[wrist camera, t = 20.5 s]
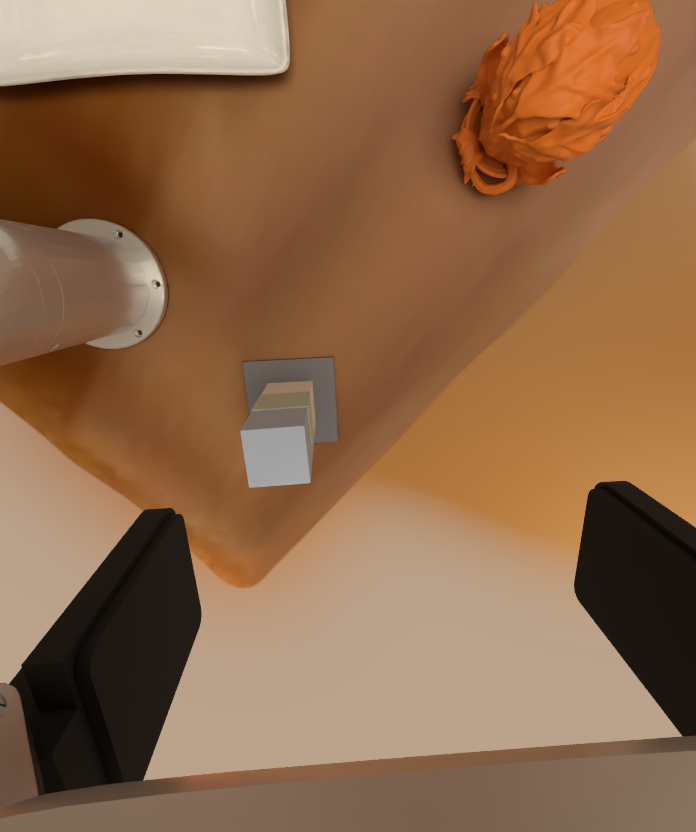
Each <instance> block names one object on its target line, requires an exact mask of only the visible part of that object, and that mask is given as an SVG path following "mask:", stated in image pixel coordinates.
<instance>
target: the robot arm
mask: <svg viewBox="0 0 696 832" xmlns="http://www.w3.org/2000/svg"><path fill="white" fill-rule="evenodd" d="M120 233H123V237H121V236H120ZM157 282H160V287H159V286H158V285H157ZM167 303H168V288H167V280H166V277H165V274H164V271H163V268H162V266H161V264H160V262H159V260H158V258H157V256H156V255H155V254H154V252H153V251H152V250H151V248H150V247H149V246H148V245H147V244H146V243H145V242H144V241H143V240H142V239H141V238H140V237H139V236H137V235H136V234H135V233H133V232H132V231H130V230H129V229H127V228H125V227H123V226H120V225H118V224H116V223H112V222H109V221H106V220H100V219H93V218H89V219H78V220H74V221H70V222H67V223H65V224H63V225H61V226H59V227H58V228H56V229H54V228H48V227H42V226H37V225H31V224H25V223H19V222H13V221H8V220H2V219H0V366H2V365H5V364H9V363H12V362H16V361H20V360H23V359H28V358H31V357H35V356H39V355H42V354H46V353H50V352H53V351H57V350H60V349H64V348H68V347H71V346H75V345H79V344H82V343H85V344H88V345H90V346H94V347H98V348H103V349H119V348H126V347H129V346H132V345H135V344H137V343H139V342H141V341H143V340H145V339H146V338H148V337H149V336H150V335H151V334H153V333H154V331H155V330H156V329H157V328H158V326H159V325H160V323H161V321H162V319H163V317H164V315H165V312H166V308H167ZM140 330H141V331H142V334H140V332H139V331H140ZM574 588H575V593H576V596H577V599H578V600H579V602H580V603H581V604H582V606H583V607H584V608H585V610H586V611H587V612H588V614H589V615H590V616H591V618H592V619H593V620H594V621H595V623H596V624H597V625H598V627H599V628H600V629H601V631H602V632H603V633H604V634H605V636H606V637H607V638H608V640H609V641H610V642H611V644H612V645H613V646H614V647H615V649H616V650H617V651H618V653H619V654H620V655H621V656H622V658H623V659H624V660H625V662H626V663H627V664H628V666H629V667H630V668H631V670H632V671H633V672H634V674H635V675H636V676H637V677H638V679H639V680H640V681H641V683H642V684H643V685H644V686H645V688H646V689H647V690H648V692H649V693H650V694H651V696H652V697H653V698H654V700H655V701H656V702H657V703H658V705H659V706H660V707H661V709H662V710H663V711H664V713H665V714H666V715H667V716H668V718H669V719H670V720H671V722H672V723H673V724H674V725H675V727H676V728H677V729H678V731H679V732H680V733H681V735H682V736H683V737H672V738H658V739H643V740H629V741H614V742H602V743H587V744H573V745H560V746H548V747H535V748H521V749H508V750H496V751H495V750H494V751H481V752H468V753H456V754H444V755H430V756H417V757H404V758H392V759H379V760H368V761H357V762H345V763H333V764H332V763H331V764H319V765H307V766H297V767H284V768H272V769H261V770H248V771H237V772H224V773H213V774H203V775H194V776H185V777H175V778H164V779H155V780H145V781H143V779H144V776H145V774H146V771H147V768H148V766H149V763H150V760H151V757H152V755H153V751H154V749H155V747H156V744H157V741H158V738H159V736H160V733H161V730H162V727H163V724H164V722H165V719H166V717H167V714H168V711H169V709H170V706H171V703H172V700H173V697H174V695H175V692H176V689H177V687H178V684H179V681H180V679H181V676H182V673H183V670H184V668H185V665H186V662H187V660H188V657H189V654H190V651H191V648H192V646H193V643H194V641H195V637H196V635H197V632H198V630H199V627H200V623H201V606H200V601H199V596H198V591H197V585H196V580H195V575H194V570H193V564H192V559H191V554H190V549H189V544H188V538H187V533H186V528H185V523H184V519H183V516H182V515H181V514H176V513H175V511H174V510H173V509H172V508H165V509H148V510H144V511H143V512H142V513H141V514H140V516H139V517H138V518H137V519H136V521H135V522H134V524H133V525H132V526H131V527H130V528H129V530H128V531H127V532H126V533H125V535H124V536H123V537H122V539H121V540H120V541H119V542H118V543H117V545H116V546H115V547H114V549H113V550H112V551H111V552H110V554H109V555H108V556H107V558H106V559H105V560H104V561H103V562H102V564H101V565H100V566H99V568H98V569H97V570H96V572H95V573H94V574H93V575H92V577H91V578H90V579H89V580H88V582H87V583H86V584H85V585H84V587H83V588H82V589H81V591H80V592H79V593H78V594H77V595H76V597H75V598H74V599H73V601H72V602H71V603H70V604H69V606H68V607H67V608H66V609H65V611H64V612H63V613H62V614H61V616H60V617H59V618H58V620H57V621H56V622H55V623H54V625H53V626H52V627H51V628H50V630H49V631H48V632H47V633H46V635H45V636H44V637H43V638H42V640H41V641H40V642H39V644H38V645H37V646H36V647H35V649H34V650H33V651H32V652H31V654H30V655H29V656H28V657H27V659H26V660H25V661H24V663H23V664H22V665H21V666H22V668H21V670H20V671H19V672H18V673H17V675H16V676H15V677H14V679H13V680H12V681H11V682H10V684H6V683H0V832H696V528H695V527H694V526H692V525H691V524H689V523H688V522H687V521H685V520H684V519H682V518H681V517H679V516H678V515H676V514H675V513H673V512H672V511H670V510H669V509H668V508H666V507H665V506H663V505H662V504H660V503H659V502H657V501H656V500H655V499H653V498H652V497H650V496H649V495H647V494H646V493H644V492H643V491H641V490H640V489H639V488H637V487H636V486H634V485H633V484H631V483H629V482H627V481H615V482H600V483H598V484H597V485H596V486H595V488H594V489H592V490H590V492H589V494H588V498H587V505H586V511H585V517H584V524H583V530H582V537H581V543H580V550H579V556H578V562H577V569H576V575H575V582H574Z"/></svg>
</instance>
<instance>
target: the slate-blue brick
mask: <svg viewBox="0 0 696 832" xmlns="http://www.w3.org/2000/svg"><path fill="white" fill-rule="evenodd" d="M240 433H241V439H242V445H243V452H244V458H245V464H246V471H247V477H248V483H249V488H253V487H266V486H279V485H291V484H304V483H310V480H311V469H312V448H311V438H310V428H309V418H308V408H307V407H299V408H286V409H273V410H260V411H251V413H250V414H249V416H248V418H247V420H246V421H245V423H244V425H243V427H242V428H241V430H240Z"/></svg>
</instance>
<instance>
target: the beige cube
mask: <svg viewBox="0 0 696 832" xmlns="http://www.w3.org/2000/svg"><path fill="white" fill-rule="evenodd" d="M309 391H310V395H311V406H312V418H313V429H314V435H315V424H316V421H315V407H314V393H313V381H299V382H280V383H268V384H267V385H266V387H265V389H264V391H263V393H262V394H261V395H263V394H278V393H293V392H309Z"/></svg>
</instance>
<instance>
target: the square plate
mask: <svg viewBox="0 0 696 832" xmlns="http://www.w3.org/2000/svg"><path fill="white" fill-rule="evenodd" d="M289 63H290V43H289V29H288V16H287V7H286V0H0V86H12V85H21V84H30V83H39V82H48V81H57V80H66V79H76V78H87V77H100V76H113V75H129V74H217V75H273V74H279V73H283V72H285V71H286V70H287V69H288V67H289Z"/></svg>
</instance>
